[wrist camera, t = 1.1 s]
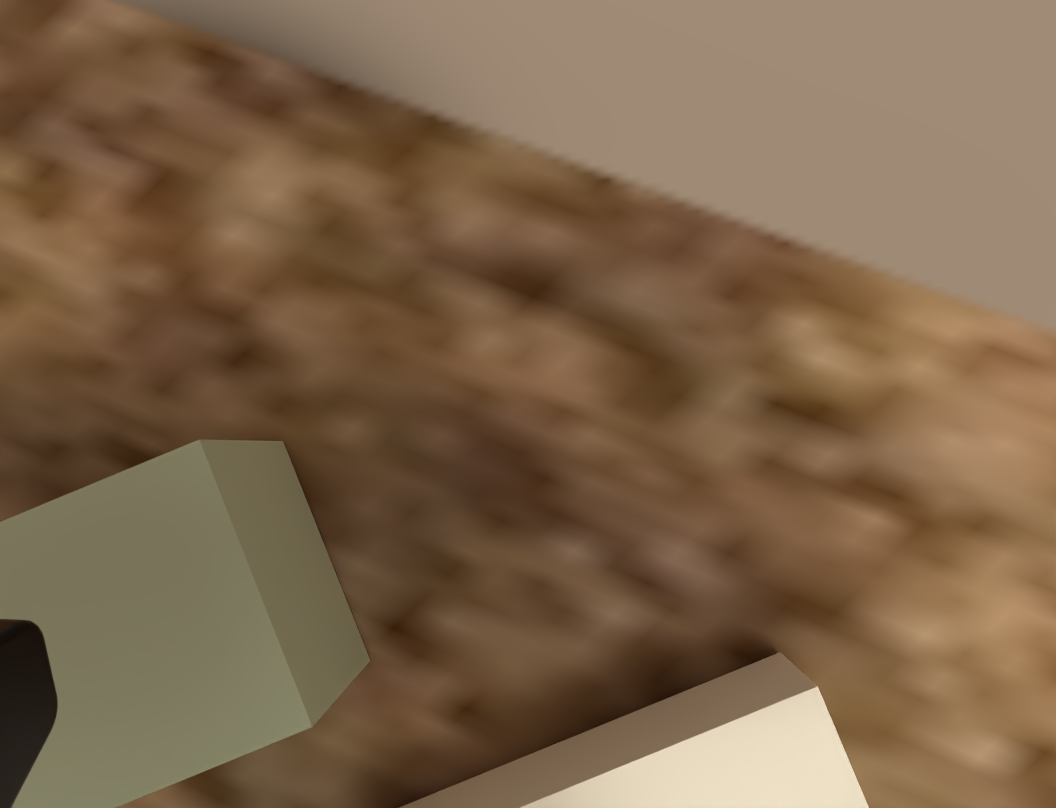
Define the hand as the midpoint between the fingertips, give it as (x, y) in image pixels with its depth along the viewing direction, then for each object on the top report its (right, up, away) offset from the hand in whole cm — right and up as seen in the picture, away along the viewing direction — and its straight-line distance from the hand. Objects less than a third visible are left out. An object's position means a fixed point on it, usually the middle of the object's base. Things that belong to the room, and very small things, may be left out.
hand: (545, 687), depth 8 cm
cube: (-7, -2, +13) cm, 15 cm away
